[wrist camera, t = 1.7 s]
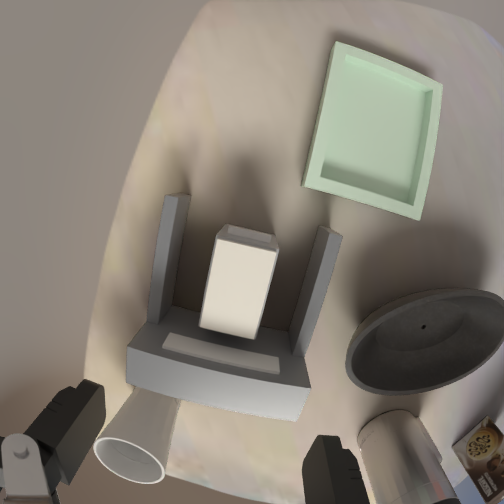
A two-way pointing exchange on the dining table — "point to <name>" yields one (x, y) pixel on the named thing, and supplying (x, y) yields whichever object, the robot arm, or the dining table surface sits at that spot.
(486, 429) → the coffee box
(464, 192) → the dining table surface
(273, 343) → the bay
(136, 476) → the cup
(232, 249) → the white block
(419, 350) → the bowl
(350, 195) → the tray
